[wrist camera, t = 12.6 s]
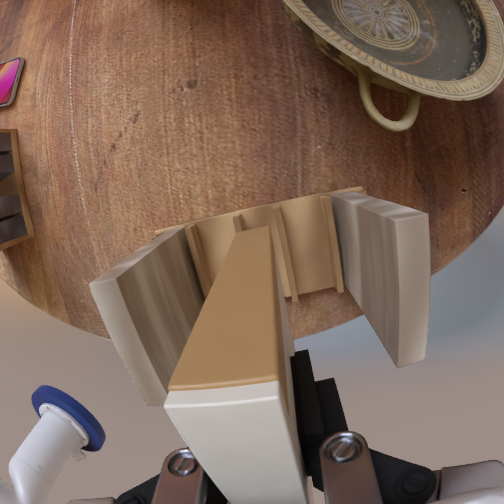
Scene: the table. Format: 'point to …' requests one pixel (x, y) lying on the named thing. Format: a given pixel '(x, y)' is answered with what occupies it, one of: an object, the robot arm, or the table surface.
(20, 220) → the wooden book rack
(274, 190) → the table surface
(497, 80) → the ceramic bowl
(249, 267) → the cream book
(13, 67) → the smartphone
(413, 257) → the wooden slotted rack
